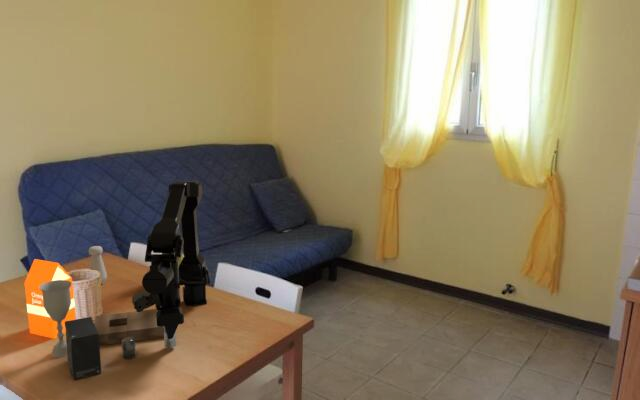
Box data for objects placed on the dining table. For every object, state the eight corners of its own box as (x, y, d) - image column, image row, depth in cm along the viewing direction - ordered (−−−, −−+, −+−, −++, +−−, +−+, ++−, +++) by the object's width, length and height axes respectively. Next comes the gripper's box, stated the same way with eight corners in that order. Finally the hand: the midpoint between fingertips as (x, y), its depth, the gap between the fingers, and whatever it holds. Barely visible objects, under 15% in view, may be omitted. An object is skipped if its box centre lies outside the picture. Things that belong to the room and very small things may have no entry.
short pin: (135, 352, 127) (134, 336, 126) (135, 358, 124) (134, 341, 124) (123, 354, 126) (121, 337, 125) (122, 360, 123) (121, 343, 123)
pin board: (170, 316, 147) (170, 307, 147) (173, 335, 136) (172, 325, 136) (96, 325, 141) (95, 316, 140) (92, 346, 130) (92, 335, 129)
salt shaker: (110, 280, 174) (108, 244, 171) (102, 286, 168) (99, 249, 166) (94, 279, 175) (91, 243, 172) (85, 285, 169) (82, 249, 166)
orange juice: (52, 321, 143) (46, 254, 139) (77, 326, 140) (71, 258, 136) (29, 333, 136) (21, 263, 132) (54, 339, 133) (46, 267, 129)
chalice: (84, 348, 129) (78, 282, 125) (62, 361, 122) (55, 292, 118) (61, 343, 131) (55, 278, 127) (39, 356, 125) (32, 288, 121)
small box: (103, 373, 118) (100, 332, 115) (72, 381, 114) (68, 339, 112) (95, 353, 126) (92, 315, 124) (66, 360, 123) (62, 321, 121)
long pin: (176, 341, 131) (174, 309, 129) (176, 346, 128) (175, 314, 126) (164, 342, 130) (162, 310, 128) (164, 348, 127) (163, 315, 125)
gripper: (133, 269, 131) (136, 324, 135) (132, 296, 114) (136, 358, 118) (177, 265, 135) (179, 318, 138) (182, 291, 118) (185, 351, 121)
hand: (170, 335), depth 129 cm, fingers closed on long pin, 3 cm apart
